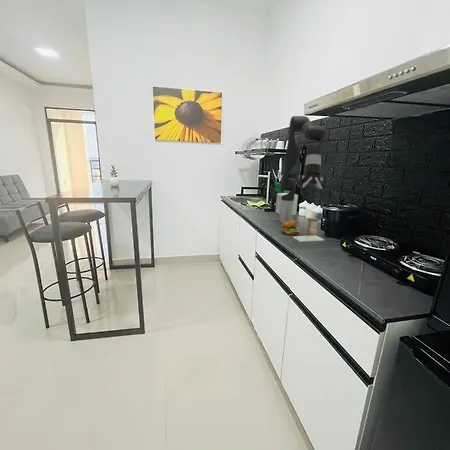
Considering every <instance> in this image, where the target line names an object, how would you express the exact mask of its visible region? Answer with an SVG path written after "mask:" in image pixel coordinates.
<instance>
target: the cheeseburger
mask: <svg viewBox="0 0 450 450" xmlns="http://www.w3.org/2000/svg"><path fill="white" fill-rule="evenodd" d="M281 224H282V225H281V228H282V230H283V232H284V234H286V235H288V236H296V235H297V236H298V235H300V234H301V231H300V229H299V226H297V225H296V224H297V221H295V220H294V219H292V220H290V221H285V222H283V223H281Z"/></svg>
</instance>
